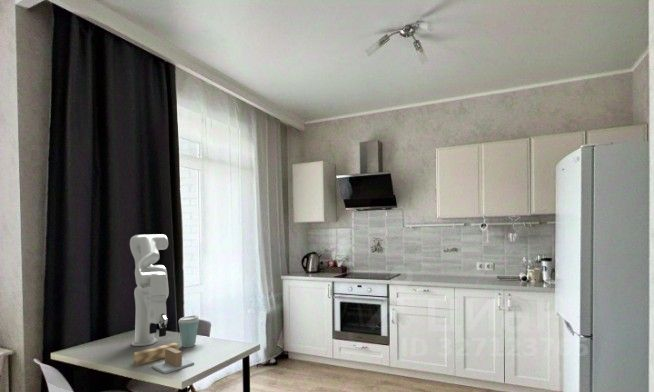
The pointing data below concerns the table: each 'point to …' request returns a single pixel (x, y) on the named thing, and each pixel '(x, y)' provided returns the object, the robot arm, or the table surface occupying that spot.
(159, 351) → the oak bar
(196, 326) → the disposable coffee cup
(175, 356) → the stand
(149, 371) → the table surface
